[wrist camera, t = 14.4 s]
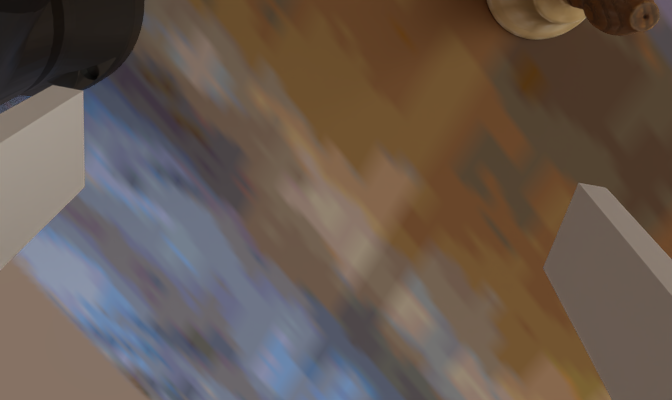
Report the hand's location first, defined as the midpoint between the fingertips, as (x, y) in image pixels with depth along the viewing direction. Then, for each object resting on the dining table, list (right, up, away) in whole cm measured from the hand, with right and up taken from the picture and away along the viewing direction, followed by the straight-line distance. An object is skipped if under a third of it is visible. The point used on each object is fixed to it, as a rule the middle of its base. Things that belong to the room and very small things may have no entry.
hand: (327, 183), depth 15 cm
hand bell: (+15, +15, +24) cm, 32 cm away
